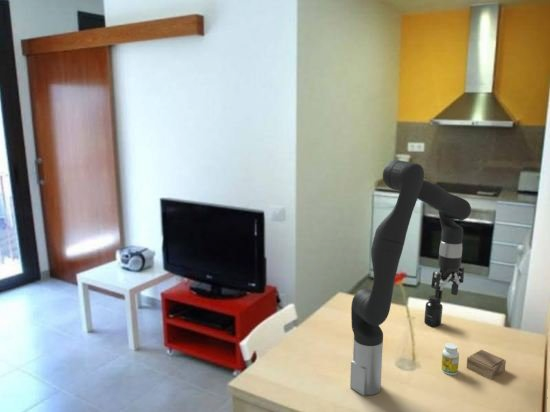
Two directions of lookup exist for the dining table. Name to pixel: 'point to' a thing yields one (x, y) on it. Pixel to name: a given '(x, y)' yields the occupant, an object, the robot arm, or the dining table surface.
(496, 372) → the wooden box
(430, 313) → the supplement bottle
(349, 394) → the dining table surface
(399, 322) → the dining table surface
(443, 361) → the supplement bottle
